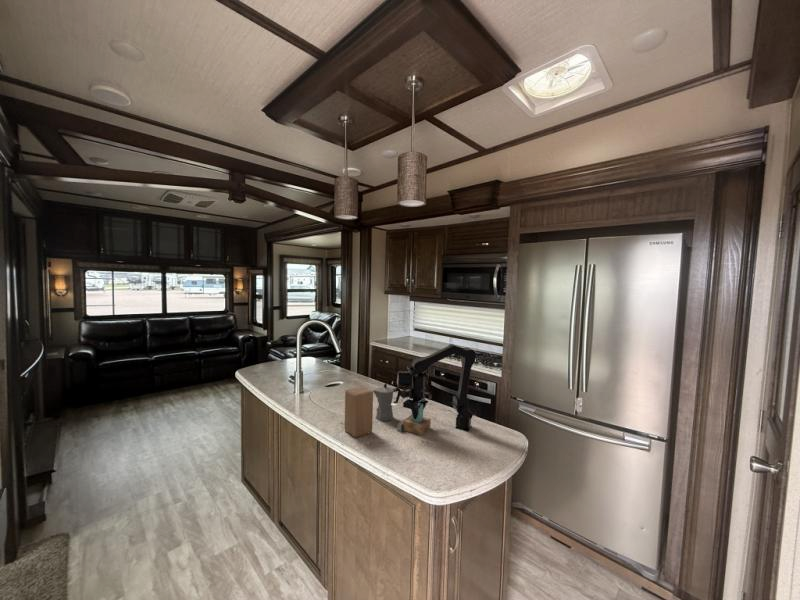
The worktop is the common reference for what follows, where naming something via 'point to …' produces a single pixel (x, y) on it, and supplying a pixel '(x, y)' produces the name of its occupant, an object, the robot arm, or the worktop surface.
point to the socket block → (416, 426)
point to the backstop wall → (401, 425)
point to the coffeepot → (385, 402)
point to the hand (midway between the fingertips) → (417, 417)
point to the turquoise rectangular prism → (419, 415)
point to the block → (358, 411)
